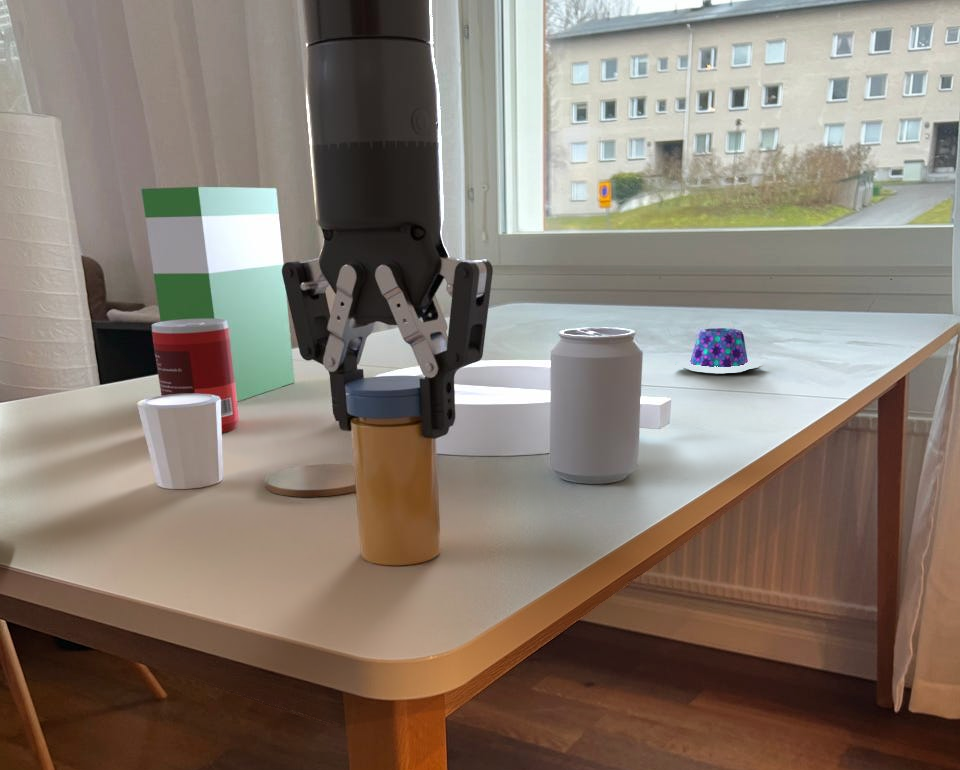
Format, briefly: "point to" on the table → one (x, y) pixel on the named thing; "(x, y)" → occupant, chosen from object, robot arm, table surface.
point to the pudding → (719, 348)
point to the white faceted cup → (184, 439)
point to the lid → (384, 397)
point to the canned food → (197, 362)
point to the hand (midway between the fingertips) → (393, 431)
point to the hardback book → (225, 273)
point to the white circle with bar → (511, 409)
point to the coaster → (313, 480)
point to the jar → (396, 490)
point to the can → (595, 404)
